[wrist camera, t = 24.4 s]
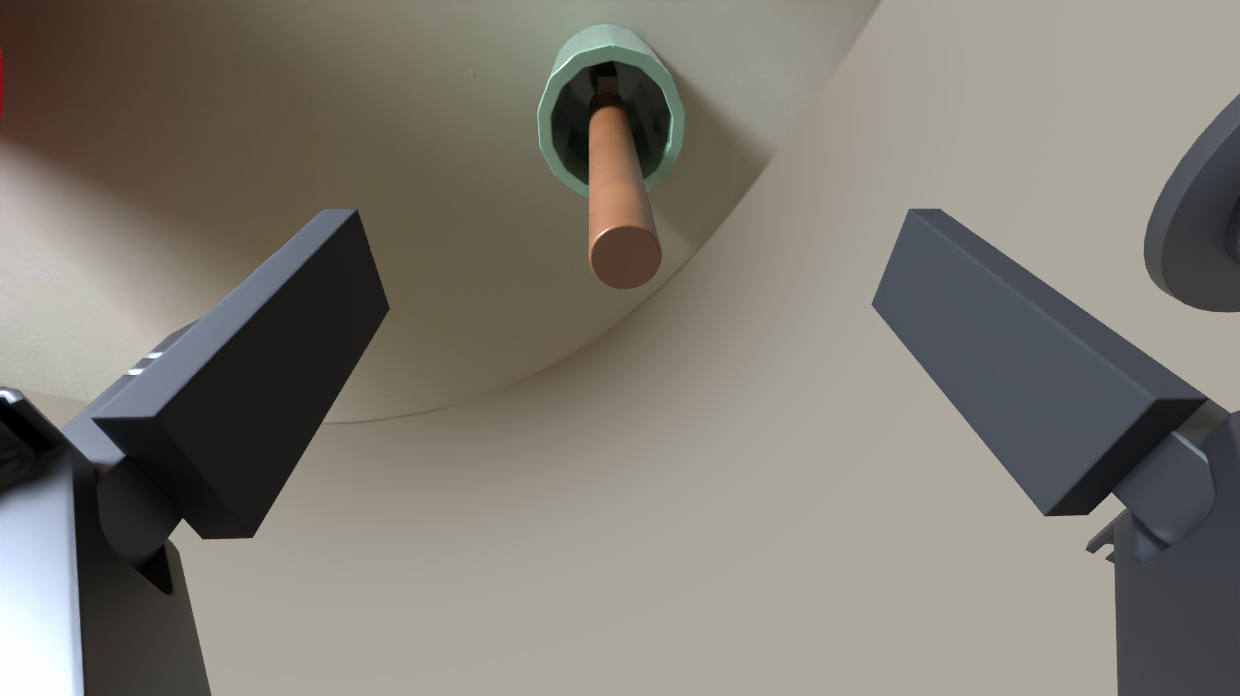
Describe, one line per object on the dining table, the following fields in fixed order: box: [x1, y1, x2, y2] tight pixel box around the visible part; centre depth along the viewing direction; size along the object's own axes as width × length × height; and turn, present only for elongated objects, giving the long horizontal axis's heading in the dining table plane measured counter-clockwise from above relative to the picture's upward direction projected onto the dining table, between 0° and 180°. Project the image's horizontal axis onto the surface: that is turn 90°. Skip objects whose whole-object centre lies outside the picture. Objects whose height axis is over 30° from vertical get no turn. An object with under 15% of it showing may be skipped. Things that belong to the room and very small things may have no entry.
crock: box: [537, 24, 686, 198], centre depth 25 cm, size 6×6×9 cm
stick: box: [589, 61, 662, 289], centre depth 20 cm, size 2×3×20 cm, turn 179°
